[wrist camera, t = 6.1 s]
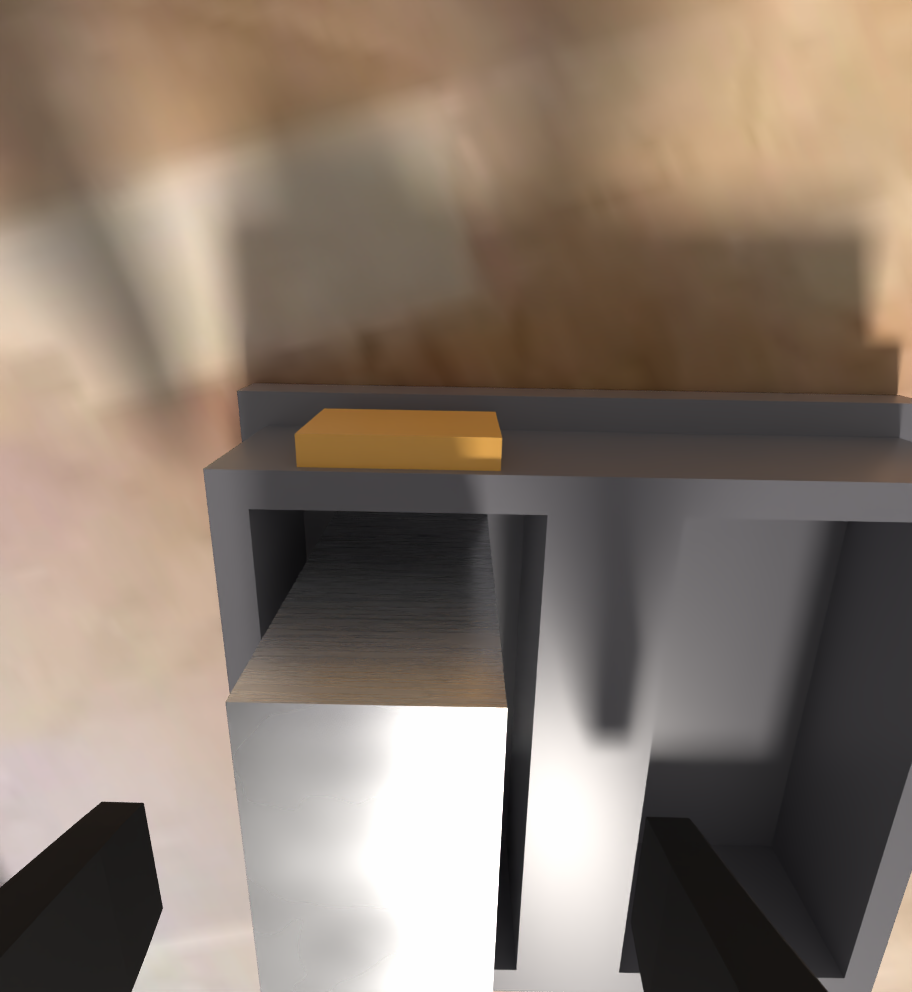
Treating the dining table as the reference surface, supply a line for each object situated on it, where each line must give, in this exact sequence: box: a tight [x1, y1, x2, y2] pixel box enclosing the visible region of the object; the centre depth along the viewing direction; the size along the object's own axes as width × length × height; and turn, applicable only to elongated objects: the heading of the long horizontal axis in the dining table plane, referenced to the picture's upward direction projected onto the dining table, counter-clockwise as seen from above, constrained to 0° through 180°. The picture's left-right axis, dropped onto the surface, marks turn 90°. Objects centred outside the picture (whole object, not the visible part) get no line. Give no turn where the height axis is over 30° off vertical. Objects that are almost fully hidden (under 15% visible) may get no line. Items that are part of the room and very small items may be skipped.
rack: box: [203, 383, 912, 992], centre depth 12 cm, size 13×12×4 cm
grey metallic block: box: [226, 511, 507, 992], centre depth 11 cm, size 3×8×6 cm, turn 179°
